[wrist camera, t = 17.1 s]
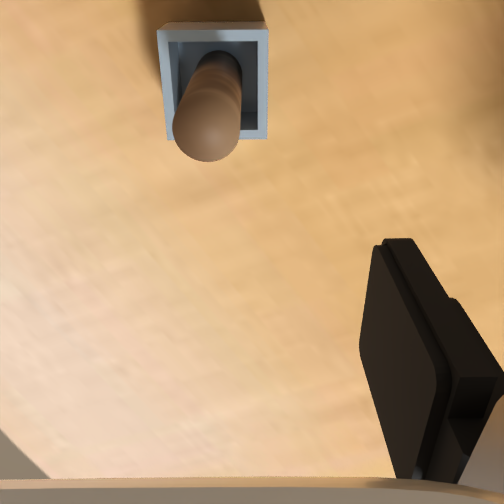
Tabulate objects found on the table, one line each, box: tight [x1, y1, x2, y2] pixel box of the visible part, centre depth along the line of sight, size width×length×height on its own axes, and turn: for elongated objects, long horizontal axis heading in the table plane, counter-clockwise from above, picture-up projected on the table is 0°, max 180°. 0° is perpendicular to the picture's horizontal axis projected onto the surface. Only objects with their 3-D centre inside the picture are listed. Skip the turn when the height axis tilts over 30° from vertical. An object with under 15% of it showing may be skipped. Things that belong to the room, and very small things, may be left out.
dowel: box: [172, 50, 242, 162], centre depth 27 cm, size 3×3×12 cm
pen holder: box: [156, 21, 268, 140], centre depth 31 cm, size 6×6×5 cm
